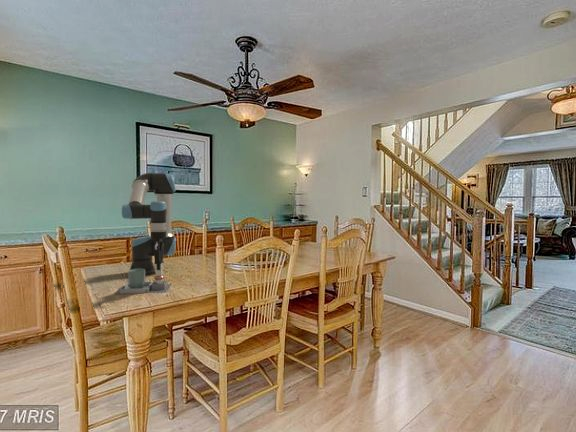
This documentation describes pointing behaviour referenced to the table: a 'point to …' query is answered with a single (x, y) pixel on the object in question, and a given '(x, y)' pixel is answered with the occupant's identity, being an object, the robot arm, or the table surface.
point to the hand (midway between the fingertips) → (159, 275)
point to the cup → (136, 278)
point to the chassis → (145, 288)
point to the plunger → (158, 279)
